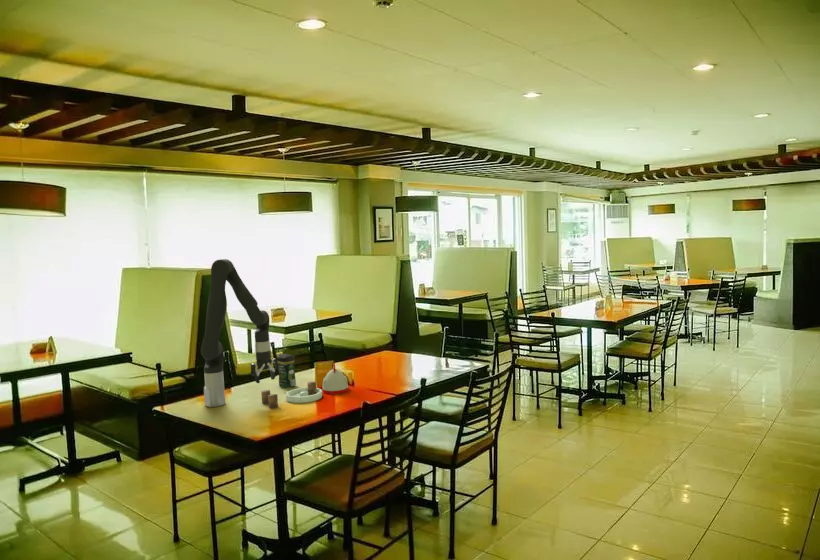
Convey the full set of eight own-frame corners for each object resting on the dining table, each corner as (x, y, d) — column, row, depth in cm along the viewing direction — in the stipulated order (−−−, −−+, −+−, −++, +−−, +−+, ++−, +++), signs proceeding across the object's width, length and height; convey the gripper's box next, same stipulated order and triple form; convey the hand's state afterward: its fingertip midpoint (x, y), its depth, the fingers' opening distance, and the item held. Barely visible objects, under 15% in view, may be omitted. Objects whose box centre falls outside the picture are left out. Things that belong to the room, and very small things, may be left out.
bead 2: (311, 395, 297) (310, 384, 296) (306, 394, 300) (305, 382, 299) (318, 393, 300) (317, 382, 299) (313, 392, 303) (312, 381, 302)
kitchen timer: (347, 386, 316) (346, 359, 315) (348, 392, 302) (347, 365, 301) (322, 388, 314) (321, 361, 313) (322, 395, 300) (321, 367, 299)
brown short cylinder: (272, 409, 279) (271, 397, 278) (267, 407, 282) (266, 395, 282) (279, 406, 282) (279, 395, 282) (275, 405, 285) (274, 393, 285)
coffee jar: (276, 386, 322) (274, 354, 320) (288, 383, 328) (286, 352, 326) (287, 389, 315) (284, 356, 314) (298, 385, 321) (296, 353, 320)
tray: (299, 405, 283) (299, 399, 283) (279, 398, 296) (279, 393, 296) (329, 396, 296) (328, 391, 296) (308, 391, 309) (308, 385, 309)
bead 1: (264, 404, 287) (264, 392, 287) (260, 402, 290) (259, 391, 290) (272, 402, 290) (271, 390, 290) (267, 400, 294) (267, 389, 293)
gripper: (254, 353, 281) (256, 385, 282) (279, 348, 291) (281, 379, 292) (246, 351, 286) (249, 383, 287) (271, 346, 296) (273, 377, 297)
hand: (265, 381), depth 290 cm, fingers open, 8 cm apart
